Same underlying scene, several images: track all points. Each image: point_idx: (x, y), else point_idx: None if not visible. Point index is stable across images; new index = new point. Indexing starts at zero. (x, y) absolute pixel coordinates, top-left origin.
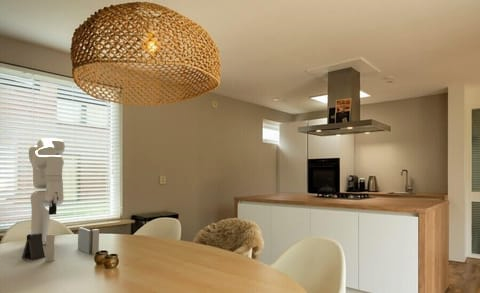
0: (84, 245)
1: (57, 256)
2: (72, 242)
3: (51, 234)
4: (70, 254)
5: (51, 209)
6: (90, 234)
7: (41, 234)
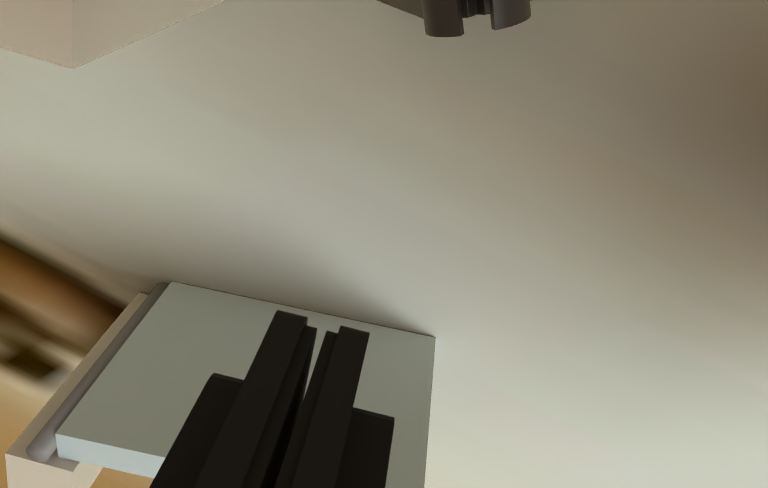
0: (252, 340)
1: (308, 96)
2: (752, 457)
3: (8, 8)
4: (290, 204)
5: (199, 452)
6: (59, 407)
7: (429, 27)
